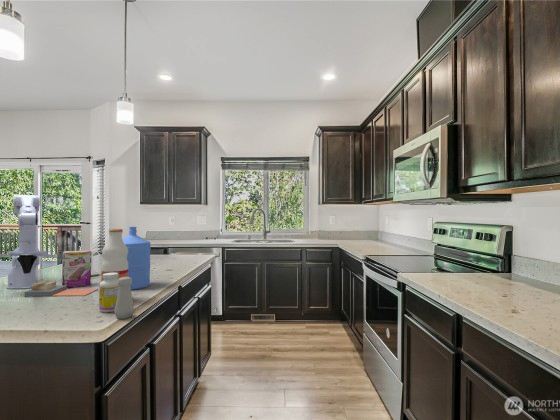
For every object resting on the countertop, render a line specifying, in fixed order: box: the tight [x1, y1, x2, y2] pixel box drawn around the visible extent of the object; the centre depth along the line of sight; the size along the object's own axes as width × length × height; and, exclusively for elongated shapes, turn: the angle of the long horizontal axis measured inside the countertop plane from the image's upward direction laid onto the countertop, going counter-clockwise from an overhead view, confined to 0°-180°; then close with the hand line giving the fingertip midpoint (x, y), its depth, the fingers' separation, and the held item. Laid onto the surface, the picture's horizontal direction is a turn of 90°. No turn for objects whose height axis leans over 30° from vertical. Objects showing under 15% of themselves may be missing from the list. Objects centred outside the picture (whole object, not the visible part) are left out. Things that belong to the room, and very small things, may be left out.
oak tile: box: [31, 280, 57, 290], centre depth 132 cm, size 6×6×2 cm
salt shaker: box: [114, 277, 135, 320], centre depth 102 cm, size 6×6×13 cm
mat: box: [51, 288, 99, 297], centre depth 133 cm, size 13×11×1 cm
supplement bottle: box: [98, 273, 120, 313], centre depth 110 cm, size 7×7×13 cm
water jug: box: [122, 226, 151, 291], centre depth 145 cm, size 16×16×28 cm
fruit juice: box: [100, 228, 128, 283], centre depth 122 cm, size 9×9×28 cm
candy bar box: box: [61, 250, 93, 289], centre depth 145 cm, size 11×5×16 cm, turn 130°
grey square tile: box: [24, 284, 68, 298], centre depth 132 cm, size 10×11×2 cm
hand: (27, 273), depth 131 cm, fingers closed
